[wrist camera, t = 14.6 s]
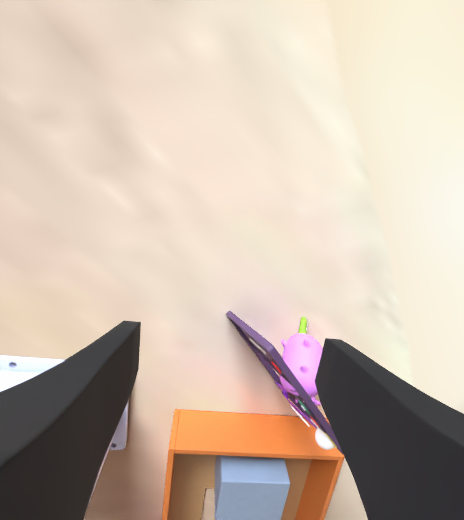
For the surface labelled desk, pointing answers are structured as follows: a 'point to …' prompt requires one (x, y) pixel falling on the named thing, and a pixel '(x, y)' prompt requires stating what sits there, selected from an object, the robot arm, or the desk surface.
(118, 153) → the desk surface
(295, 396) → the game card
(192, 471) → the wooden tray
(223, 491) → the small cube
